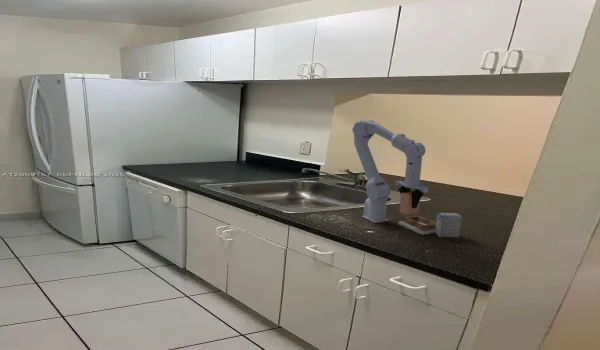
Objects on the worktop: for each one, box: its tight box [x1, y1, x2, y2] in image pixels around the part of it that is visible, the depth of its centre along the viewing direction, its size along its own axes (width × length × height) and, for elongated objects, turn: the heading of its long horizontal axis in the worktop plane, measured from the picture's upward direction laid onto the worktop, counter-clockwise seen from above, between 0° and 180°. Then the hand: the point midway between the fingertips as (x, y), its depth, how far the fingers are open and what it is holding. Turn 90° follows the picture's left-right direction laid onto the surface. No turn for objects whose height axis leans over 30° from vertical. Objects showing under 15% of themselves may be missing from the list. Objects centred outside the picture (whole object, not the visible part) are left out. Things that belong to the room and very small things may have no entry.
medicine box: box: [434, 212, 463, 238], centre depth 137 cm, size 8×4×9 cm, turn 92°
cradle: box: [397, 215, 437, 236], centre depth 146 cm, size 14×12×3 cm
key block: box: [399, 191, 421, 216], centre depth 142 cm, size 4×7×8 cm, turn 123°
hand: (409, 206), depth 142 cm, fingers closed on key block, 4 cm apart
